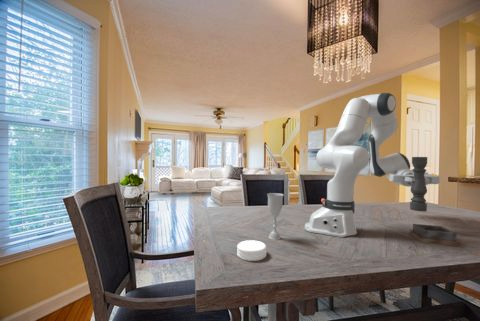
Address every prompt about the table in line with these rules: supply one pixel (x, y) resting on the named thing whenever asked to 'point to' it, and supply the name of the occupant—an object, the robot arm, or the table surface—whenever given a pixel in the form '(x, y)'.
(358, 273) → the table surface
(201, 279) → the table surface
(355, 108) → the robot arm
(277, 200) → the chalice
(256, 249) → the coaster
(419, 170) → the candle holder
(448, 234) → the socket base
